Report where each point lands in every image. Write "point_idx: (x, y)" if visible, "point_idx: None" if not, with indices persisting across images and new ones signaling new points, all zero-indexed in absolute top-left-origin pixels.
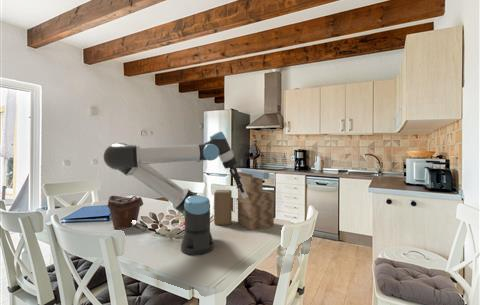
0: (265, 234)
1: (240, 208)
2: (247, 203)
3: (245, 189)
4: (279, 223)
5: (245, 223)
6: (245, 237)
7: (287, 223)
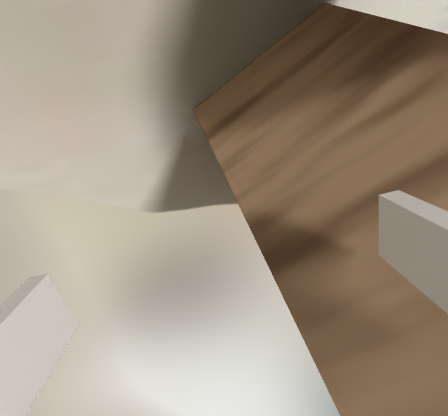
0: (149, 181)
1: (353, 57)
2: (279, 166)
3: None
4: None
5: (245, 80)
6: (67, 104)
7: None
